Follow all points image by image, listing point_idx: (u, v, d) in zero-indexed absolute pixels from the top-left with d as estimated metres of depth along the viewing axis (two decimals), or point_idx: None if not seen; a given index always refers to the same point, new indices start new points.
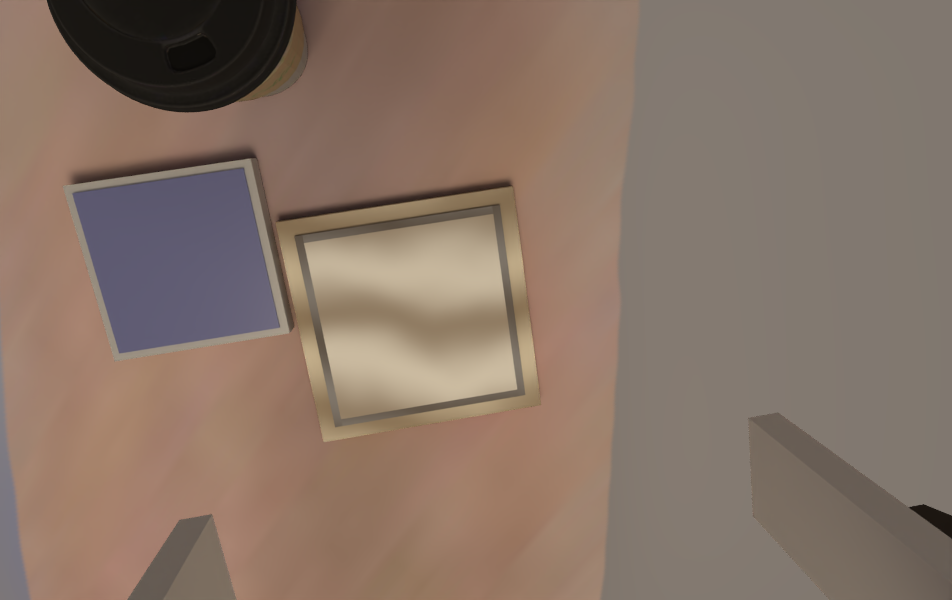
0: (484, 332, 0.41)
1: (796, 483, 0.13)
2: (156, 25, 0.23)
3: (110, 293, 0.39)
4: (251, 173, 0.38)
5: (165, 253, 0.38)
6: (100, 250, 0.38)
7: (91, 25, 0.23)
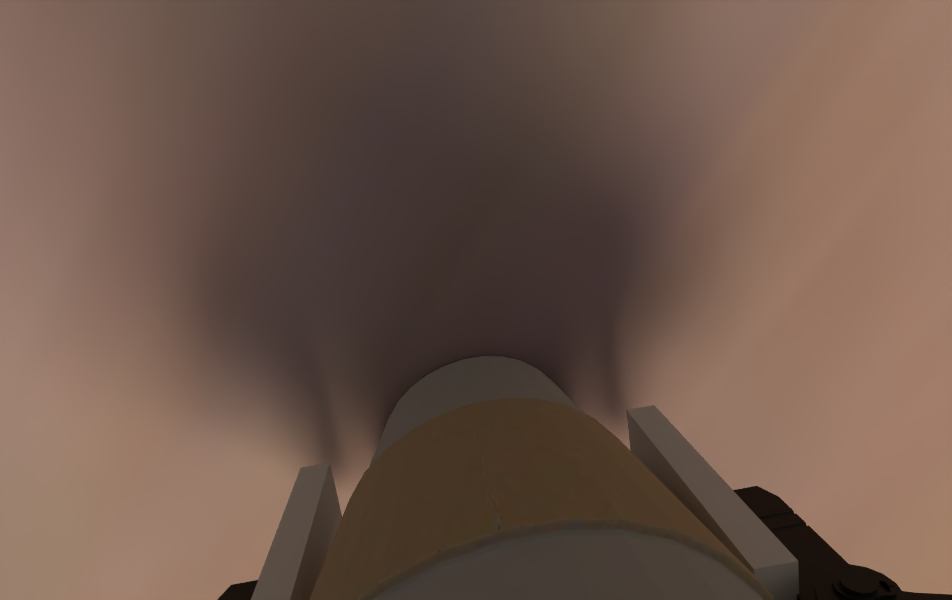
0: None
1: (655, 468, 0.15)
2: None
3: None
4: None
5: None
6: None
7: None
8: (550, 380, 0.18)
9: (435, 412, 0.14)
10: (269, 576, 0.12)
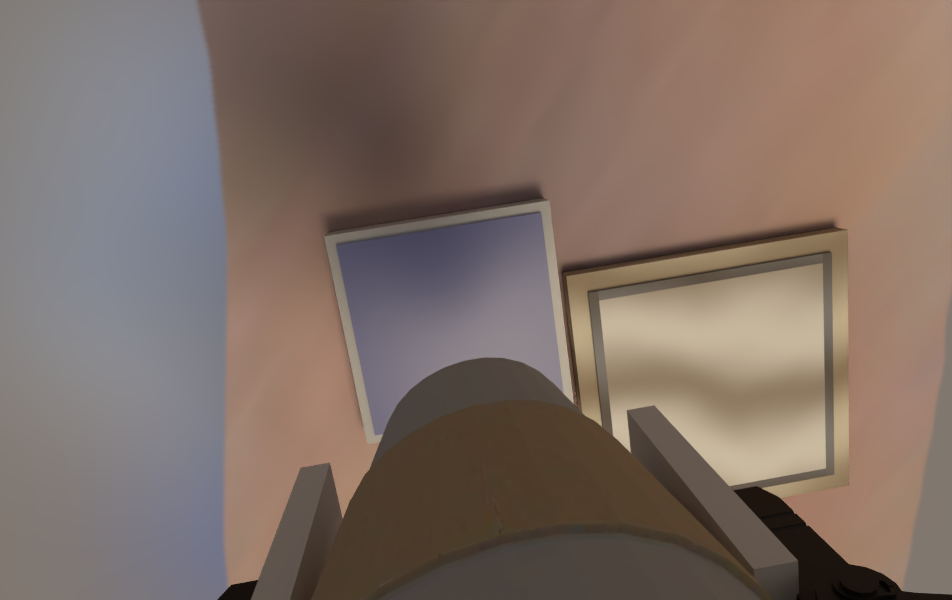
0: (796, 402, 0.35)
1: (655, 467, 0.15)
2: None
3: (369, 364, 0.32)
4: (548, 218, 0.31)
5: (440, 316, 0.31)
6: (363, 313, 0.31)
7: None
8: (550, 382, 0.18)
9: (435, 414, 0.14)
10: (269, 576, 0.12)
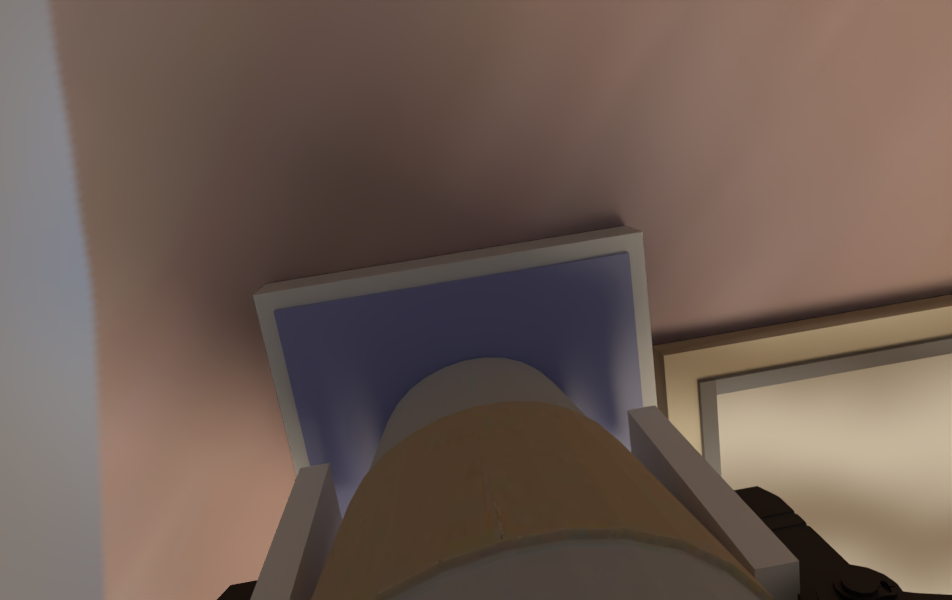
0: None
1: (656, 468, 0.15)
2: None
3: None
4: (640, 262, 0.18)
5: None
6: (323, 424, 0.18)
7: None
8: (551, 382, 0.17)
9: (435, 415, 0.14)
10: (268, 576, 0.12)
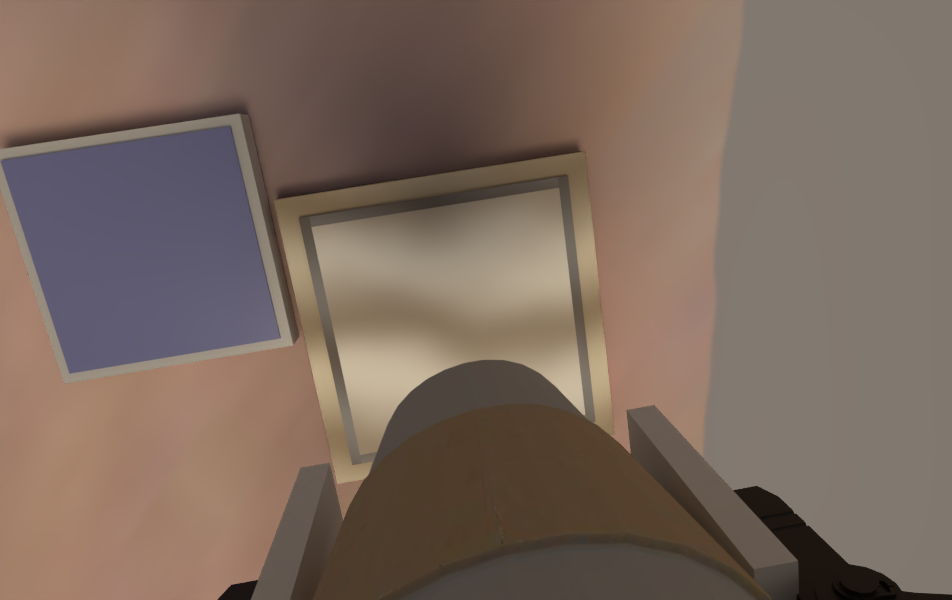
0: (544, 342, 0.32)
1: (656, 468, 0.15)
2: None
3: (56, 295, 0.29)
4: (241, 134, 0.28)
5: (127, 241, 0.29)
6: (40, 237, 0.28)
7: None
8: (552, 384, 0.17)
9: (436, 418, 0.14)
10: (269, 576, 0.12)
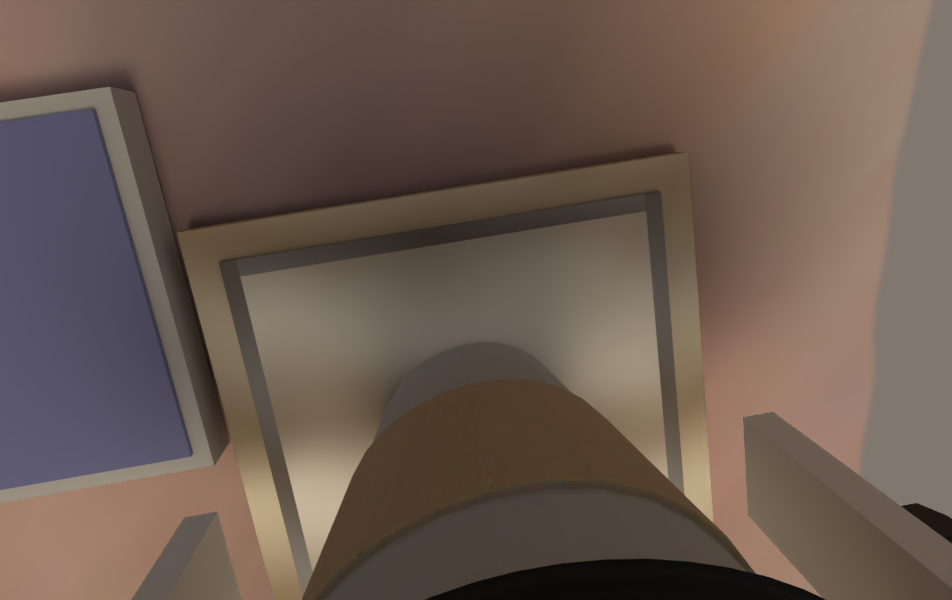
0: None
1: (790, 481, 0.13)
2: None
3: None
4: (113, 122, 0.17)
5: None
6: None
7: None
8: (543, 365, 0.18)
9: (433, 393, 0.15)
10: None
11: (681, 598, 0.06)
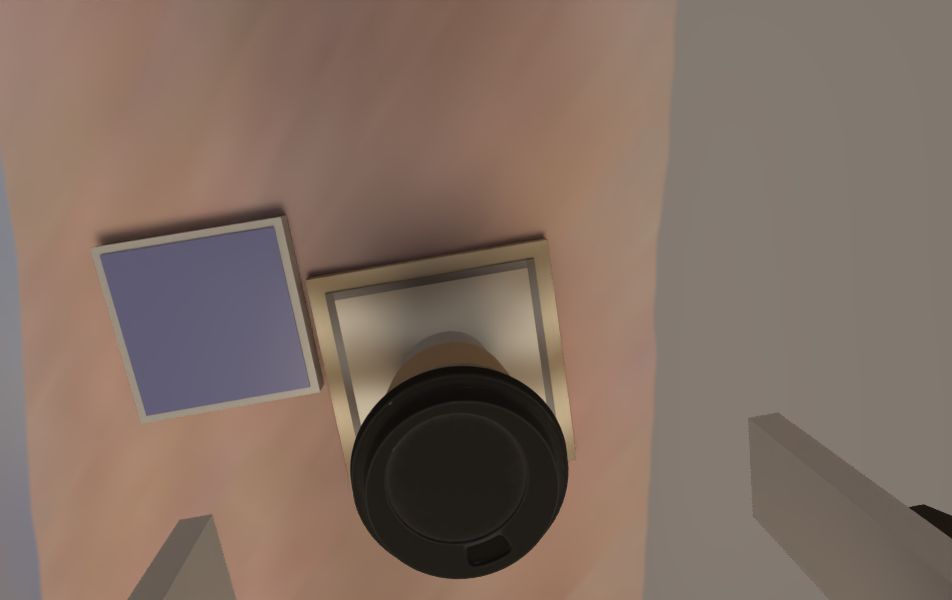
0: None
1: (796, 482, 0.13)
2: (460, 529, 0.26)
3: (137, 355, 0.38)
4: (281, 232, 0.37)
5: (194, 314, 0.37)
6: (127, 312, 0.37)
7: (404, 536, 0.25)
8: (478, 341, 0.39)
9: (424, 349, 0.35)
10: None
11: (475, 372, 0.26)
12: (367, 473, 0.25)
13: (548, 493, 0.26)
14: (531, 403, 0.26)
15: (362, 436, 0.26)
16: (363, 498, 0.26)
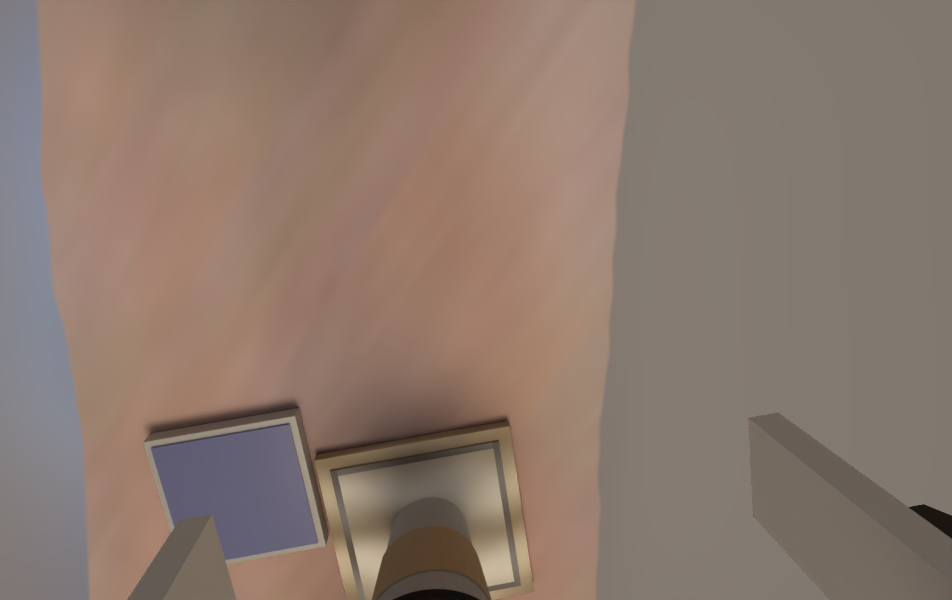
0: (486, 538, 0.50)
1: (796, 483, 0.13)
2: None
3: None
4: (295, 427, 0.46)
5: (225, 490, 0.47)
6: (172, 490, 0.46)
7: None
8: (453, 508, 0.48)
9: (409, 528, 0.45)
10: None
11: (443, 595, 0.35)
12: None
13: None
14: None
15: None
16: None
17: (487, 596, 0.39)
